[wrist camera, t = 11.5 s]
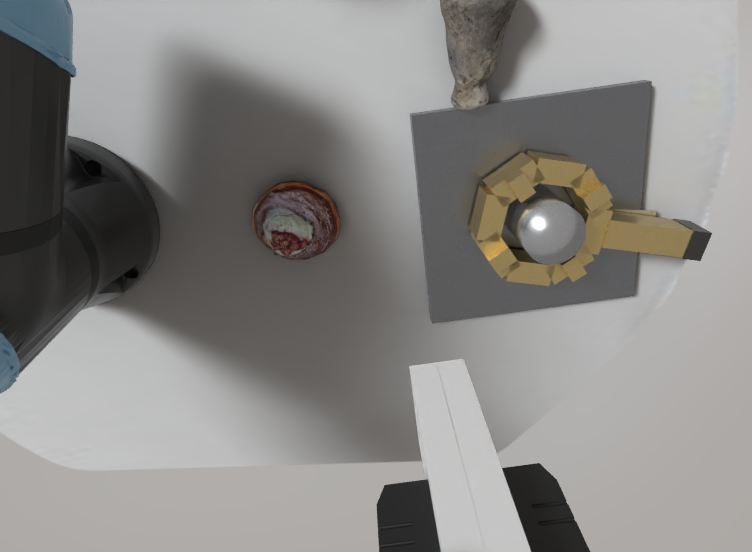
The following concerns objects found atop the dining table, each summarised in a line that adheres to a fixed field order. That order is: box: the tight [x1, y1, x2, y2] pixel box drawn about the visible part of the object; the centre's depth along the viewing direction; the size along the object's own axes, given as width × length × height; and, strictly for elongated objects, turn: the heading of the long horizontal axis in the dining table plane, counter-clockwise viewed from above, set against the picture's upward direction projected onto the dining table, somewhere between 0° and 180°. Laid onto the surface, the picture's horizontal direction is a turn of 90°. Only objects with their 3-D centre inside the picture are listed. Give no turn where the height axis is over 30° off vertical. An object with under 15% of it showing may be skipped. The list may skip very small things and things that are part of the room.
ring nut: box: [469, 151, 712, 286], centre depth 46 cm, size 20×11×4 cm, turn 82°
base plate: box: [410, 80, 657, 323], centre depth 46 cm, size 21×20×7 cm
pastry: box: [252, 181, 340, 260], centre depth 46 cm, size 8×8×5 cm
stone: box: [440, 0, 516, 111], centre depth 41 cm, size 10×6×8 cm
